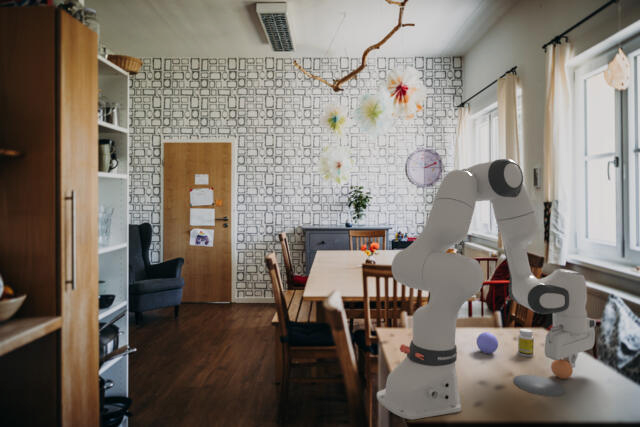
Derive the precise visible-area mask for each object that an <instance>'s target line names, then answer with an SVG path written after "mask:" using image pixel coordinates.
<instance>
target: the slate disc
mask: <svg viewBox="0 0 640 427" xmlns="http://www.w3.org/2000/svg"><path fill="white" fill-rule="evenodd" d="M512 381H513V383H514V385H515V386H516V387H518V388H519V389H521V390H523V391H526V392H528V393H530V394H535V395H539V396H545V397H558V396H563V395H564V394H565V393H566V390H565V387H564V386H563V385H562V384H561V383H559V382H557V381H555V380H553V379H550V378H547V377H544V376H540V375H534V374H519V375H517V376H515V377H513V379H512Z"/></svg>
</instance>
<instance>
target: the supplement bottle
mask: <svg viewBox="0 0 640 427" xmlns="http://www.w3.org/2000/svg"><path fill="white" fill-rule="evenodd" d="M533 335H534V334H533V330H532V329H529V328H520V329H519V335H518V338H517V341H518V342H517V353H518V355H521V356H524V357H532V356H534V336H533Z"/></svg>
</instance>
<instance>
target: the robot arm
mask: <svg viewBox="0 0 640 427" xmlns="http://www.w3.org/2000/svg"><path fill="white" fill-rule="evenodd" d="M484 201H485V202H486V201H489V202H490V203H491V204H492V205H491V206H492V209H493V214H494V217H495V220H496V225H497V228H498V231H499V234H500V238H501V241H502V245H503V246H502V247H503V250H504V256H505V258H506V259H505V260H506V263H507V267H508V272H509V282H508V294H509V296H510V298H511V300H513V302H514V303H516V304H518V305H521V306H523V307H525V308H527V309H529V310H530V311H532V312H534V313H536V314H540V315H548V314H552V327H550V330H549V331H548V332H547V333H546V336H545V340H544V356H545V357H546V358H548V359H551V360H553V361H554V360H559V359H563V360H566V361H567V362H569V363H570V365H571V366H572V369H573V368H576V361H577V359H578V354H579V353H582V352H585V351H587V350H591V349H593V348H594V345H595V338H596V331H595V327H596V326H597V325H596V324H597V321H596V319H594V318H590V317H588V313H587V312H588V311H587V310H586V309H587V308H586V304H587V302H588V292H587V291H588V290H587V281H586V277H585V276H584V274H582V273H580V272H578V271H575V270H570V269H565V268H557V269H555V270H554V271H553V272H552V273H550V274H549V275H546V276H545V277H542V278H538V277H536V276H535V275H534V274H533V272H532V270H531V266H530V262H529V256H528V253H527V252H528V251H527V246H528V244H529V242H531V241H532V240H533V239H534V238H535V237H536V236H537V234H538V232H539V221H538V217H537V214H536V209H535V207H534V204H533V202H532V198H531V196H530V194H529V192H528V190H527V188H526V186H525V184H524V175H523V171H522V169H521V166H520V165H519V164H517V162H516V161H514V160H513V159H509V158H501V159H496V160H493V161H488V162H482V163H478V164H474V165H472V166H469V167H467V168H463V169H454V170H451V171H449V172H447V173H446V175H445V176H444V177H443V178H442V180H441V182H440V185H439V186H438V189H437V191H436V193H435V196H434V200H433V203H432V206H431V210H430V212H429V214H428V215H429V216H428V217H427V221H426V223H425V226H424V227H423V229H422V230H421V232H420V234H419V235H418V236H417V237H416V239H415V240H413V242H411V244H410V245H409V246H407V247H406V248H404V249H402V250H400V251H399V252H397V254H395V255H394V257H393V259H392V263H391V273H392V276H393V278H394V280H395V281H396V282H397V283H399V284H401V285H403V286H405V287H407V288H410V289H414V290H419V291H424V292H429V294H430V295H429V300H428V303H426V304H424V305H422V306H419V307H418V308H417V309H416V310H415V311H414V313H413V314H412V336H411V337H412V340H410V343H409V346H408V345H405V344H401V345H400V346H399V351H400V352H401V353H404V354H406V357H405V358H404V359H403V360H402V361H401V362H400V363H399V364H398V365H397V366H395V368H394V369H392V370H391V372H389V374H388V375H387V378H386V384H385V388H384V389H381V390H379V391H377V392H376V399H377V401H378V402H379V403H380V404H381V405H382V406H383V407H384V408H385V409H387V410H388V411H390V412H391V413H393V414H394V415H396V416H399V417H400V418H403V419H407V420H418V419H419V420H420V419H424V418H430V417H436V416H441V415H448V414H454V413H460V412H461V411H462V404H461V400H462V398H461V395H460V391H459V385H458V384H459V383H458V375H457V370H456V361H457V356H458V351H457V349H458V348H457V345H456V332H457V331H456V329H457V320H458V319H457V318H458V316H459V313H460V310H461V309H462V307H463V305H464V304H465V303H466V302H467V301H468V300H469V299H471V298H473V297H475V295H477V294H478V293H479V292H480V290H481V289H482V287H483V284H484V281H485V280H484V279H485V278H484V277H485V275H484V270H483V268H482V265H481V264H480V263H479V261H478V260H477V259H475V258H473V257H469V256H466V255H463V254H460V253H453V252H447V251H448V250H450V248H451V247H453V246H455V245H458V244H459V243H461V242H463V241H464V240H465V239H466V238H467V236H468V234H469V231H470V226H471V223H472V219H473V215H474V211H475V208H476V202H484Z"/></svg>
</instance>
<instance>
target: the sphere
mask: <svg viewBox="0 0 640 427" xmlns="http://www.w3.org/2000/svg"><path fill="white" fill-rule="evenodd" d="M475 343H476V346H477V347H478V350H480V351H481V353H485V354H492V353H493V354H494V353H495V352H496V351H497V350H498V348H499V342H498V338H497V337H496V336H495V335H494V334H492V333H491V332H482V333H480V334H479V335H478V336H477V338H476V342H475Z"/></svg>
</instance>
